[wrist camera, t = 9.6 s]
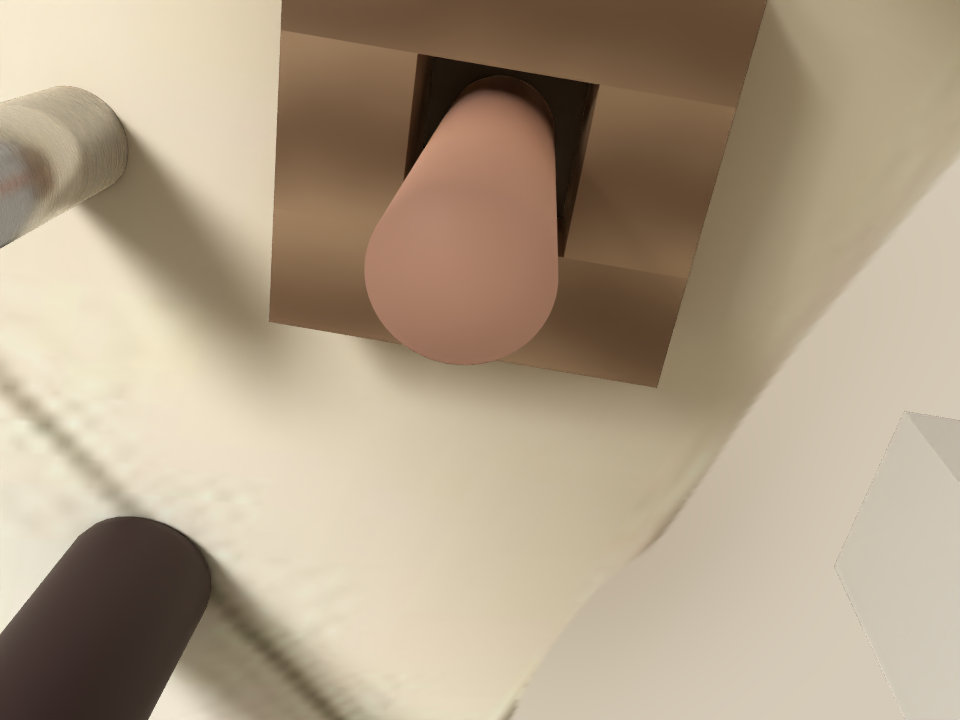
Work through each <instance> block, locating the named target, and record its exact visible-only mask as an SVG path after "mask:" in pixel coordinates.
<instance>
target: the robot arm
mask: <svg viewBox="0 0 960 720" xmlns="http://www.w3.org/2000/svg"><path fill="white" fill-rule="evenodd" d="M834 567H835V569H836V571H837V574H838V576H839V578H840V580H841V582H842V584H843V586H844V589H845V591H846V593H847V595H848V597H849V600H850V601H851V604H852V606H853V608H854V610H855V613H856V615H857V617H858V619H859V621H860V623H861V626H862V628H863V630H864V632H865V634H866V637H867V639H868V641H869V643H870V645H871V647H872V650H873V652H874V654H875V656H876V658H877V660H878V663H879V665H880V667H881V669H882V671H883V673H884V676H885V678H886V680H887V682H888V684H889V686H890V688H891V691H892V693H893V695H894V697H895V699H896V702H897V704H898V706H899V708H900V710H901V712H902V715H903V717H904V719H905V720H960V420H955V419H949V418H943V417H937V416H931V415H925V414H919V413H913V412H907V411H904V413H903V415H902V417H901V419H900V422H899V424H898V426H897V428H896V431H895V433H894V435H893V437H892V439H891V441H890V444H889V446H888V449H887V451H886V453H885V455H884V457H883V459H882V462H881V464H880V466H879V468H878V470H877V473H876V475H875V477H874V479H873V481H872V484H871V486H870V488H869V490H868V492H867V494H866V497H865V499H864V501H863V503H862V506H861V508H860V510H859V512H858V514H857V516H856V519H855V521H854V523H853V525H852V528H851V530H850V532H849V534H848V537H847V539H846V541H845V543H844V545H843V547H842V550H841V552H840V554H839V556H838V559H837V561H836V563H835V565H834Z"/></svg>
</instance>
